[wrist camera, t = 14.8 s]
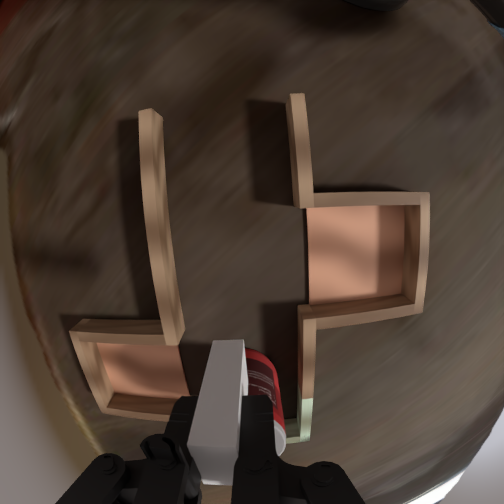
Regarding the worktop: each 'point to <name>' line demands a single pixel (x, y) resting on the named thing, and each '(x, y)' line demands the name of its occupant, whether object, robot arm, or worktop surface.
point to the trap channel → (309, 315)
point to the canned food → (266, 390)
